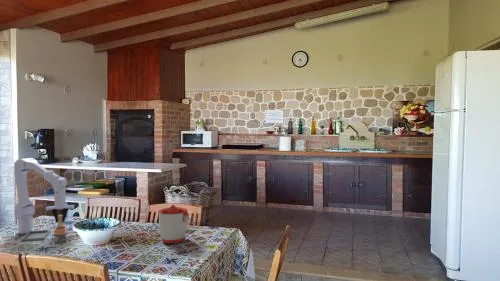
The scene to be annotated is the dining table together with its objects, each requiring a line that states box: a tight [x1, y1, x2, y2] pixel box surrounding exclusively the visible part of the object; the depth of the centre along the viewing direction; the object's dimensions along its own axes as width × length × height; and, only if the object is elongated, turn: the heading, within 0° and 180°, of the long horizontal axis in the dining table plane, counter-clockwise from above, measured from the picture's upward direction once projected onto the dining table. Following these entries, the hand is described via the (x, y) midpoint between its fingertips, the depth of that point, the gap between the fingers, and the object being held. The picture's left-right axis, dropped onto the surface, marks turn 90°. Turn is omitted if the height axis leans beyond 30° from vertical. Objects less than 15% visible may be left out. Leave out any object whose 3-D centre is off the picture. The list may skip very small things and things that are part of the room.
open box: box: [53, 225, 68, 236], centre depth 210 cm, size 6×6×4 cm
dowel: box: [57, 214, 64, 229], centre depth 210 cm, size 3×3×8 cm
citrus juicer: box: [157, 204, 191, 244], centre depth 199 cm, size 16×17×20 cm
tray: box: [20, 229, 51, 243], centre depth 205 cm, size 16×11×2 cm
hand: (60, 221), depth 210 cm, fingers closed on dowel, 3 cm apart
